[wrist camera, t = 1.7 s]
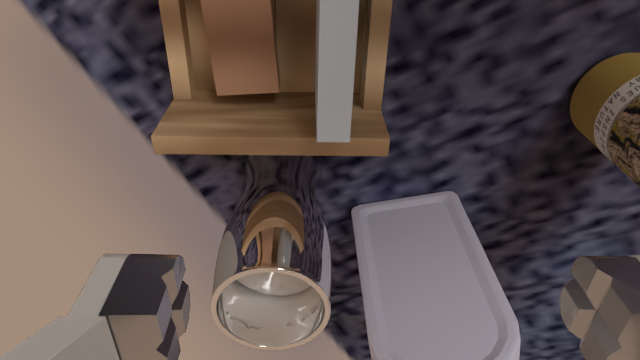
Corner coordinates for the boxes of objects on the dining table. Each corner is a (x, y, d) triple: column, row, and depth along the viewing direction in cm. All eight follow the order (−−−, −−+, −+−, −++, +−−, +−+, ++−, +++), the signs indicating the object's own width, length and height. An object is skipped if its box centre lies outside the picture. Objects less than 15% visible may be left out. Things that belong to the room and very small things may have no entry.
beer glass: (287, 113, 35) (276, 243, 23) (342, 173, 38) (360, 318, 26) (221, 163, 37) (178, 307, 25) (278, 216, 40) (266, 368, 28)
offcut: (197, -53, 27) (191, -50, 25) (267, -57, 26) (264, -53, 25) (220, 86, 31) (217, 95, 30) (280, 83, 31) (279, 92, 30)
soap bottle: (360, 264, 44) (403, 566, 24) (350, 205, 40) (390, 507, 21) (456, 249, 43) (578, 548, 24) (454, 188, 39) (597, 484, 20)
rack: (151, -126, 27) (99, -128, 20) (392, -119, 27) (421, -119, 20) (184, 100, 34) (154, 153, 28) (372, 103, 35) (388, 156, 28)
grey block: (317, -81, 27) (321, -66, 20) (348, -80, 27) (363, -65, 20) (314, 81, 33) (316, 141, 25) (339, 81, 33) (349, 142, 25)
